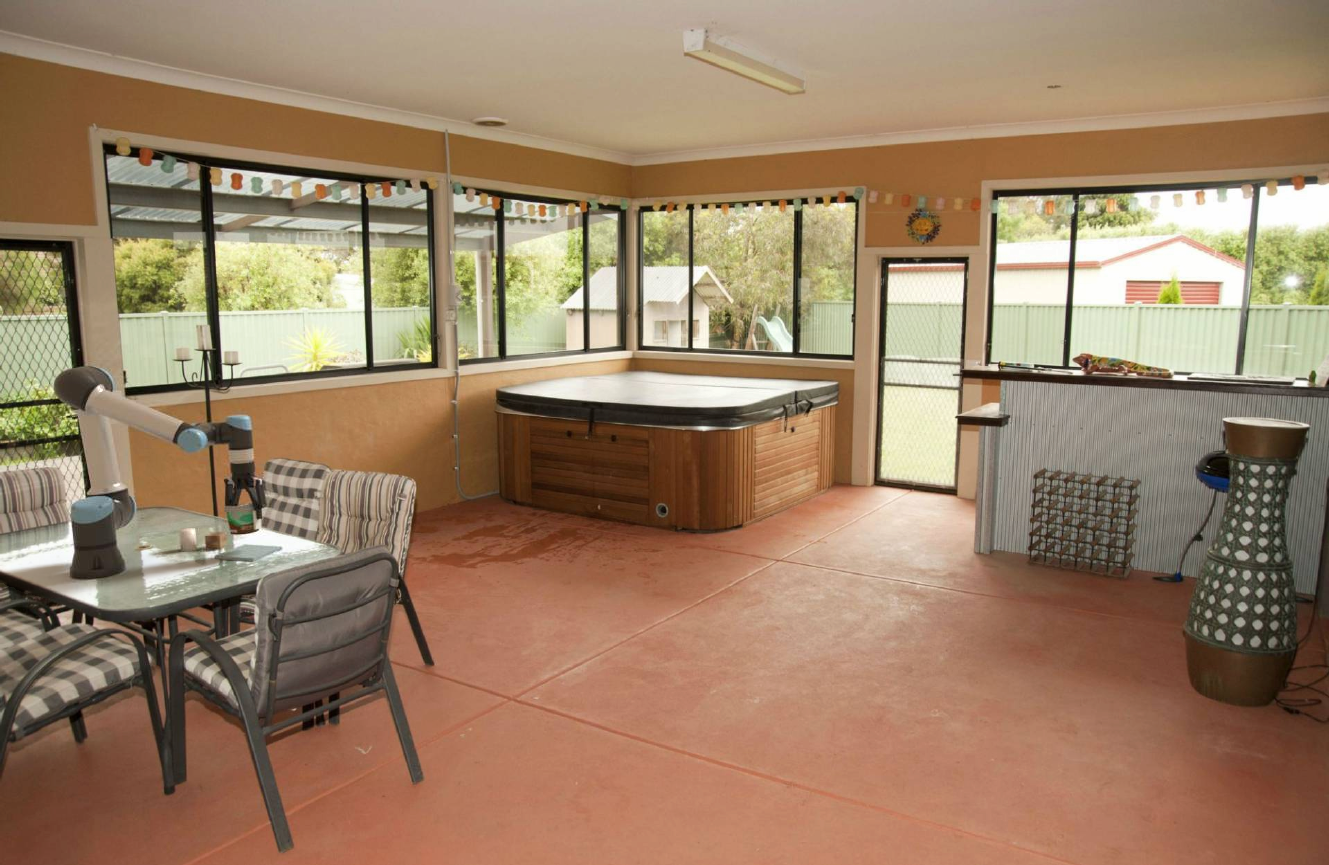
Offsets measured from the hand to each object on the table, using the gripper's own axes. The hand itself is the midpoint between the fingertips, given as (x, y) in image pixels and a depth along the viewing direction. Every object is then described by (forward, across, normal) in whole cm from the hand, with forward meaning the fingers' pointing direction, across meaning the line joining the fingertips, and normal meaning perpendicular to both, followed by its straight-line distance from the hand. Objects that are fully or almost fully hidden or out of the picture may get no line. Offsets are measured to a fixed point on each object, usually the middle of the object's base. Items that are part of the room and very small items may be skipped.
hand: (247, 527), depth 314 cm
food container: (+2, 0, 0) cm, 2 cm away
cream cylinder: (+9, +25, -1) cm, 27 cm away
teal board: (+9, 0, 0) cm, 9 cm away
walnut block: (+9, +17, -5) cm, 20 cm away
